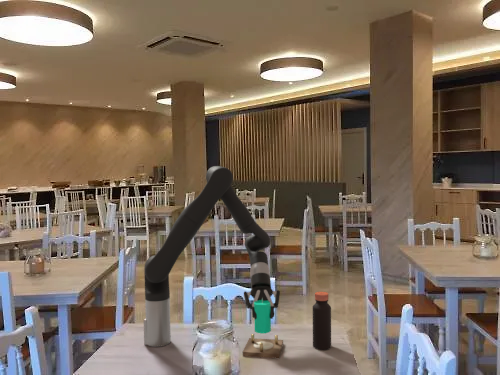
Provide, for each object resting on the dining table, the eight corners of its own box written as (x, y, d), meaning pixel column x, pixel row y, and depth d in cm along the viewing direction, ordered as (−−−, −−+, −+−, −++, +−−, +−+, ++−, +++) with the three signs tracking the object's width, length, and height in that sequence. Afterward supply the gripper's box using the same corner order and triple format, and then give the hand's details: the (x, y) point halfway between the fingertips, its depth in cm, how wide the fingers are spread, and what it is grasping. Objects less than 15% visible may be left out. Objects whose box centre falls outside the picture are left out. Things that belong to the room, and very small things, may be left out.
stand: (242, 356, 159) (242, 351, 159) (249, 342, 172) (249, 337, 172) (279, 358, 157) (279, 353, 157) (283, 343, 170) (283, 339, 170)
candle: (269, 334, 161) (268, 300, 160) (253, 333, 162) (252, 300, 161) (272, 328, 167) (271, 296, 166) (256, 327, 168) (255, 295, 167)
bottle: (335, 347, 166) (334, 293, 165) (322, 352, 162) (322, 297, 161) (321, 341, 171) (321, 289, 171) (308, 346, 167) (308, 293, 166)
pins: (247, 351, 160) (247, 342, 160) (251, 341, 168) (251, 333, 168) (275, 352, 158) (275, 344, 158) (278, 343, 167) (278, 335, 167)
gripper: (241, 272, 170) (244, 314, 159) (279, 271, 171) (284, 312, 160) (241, 282, 176) (243, 323, 165) (278, 281, 177) (282, 322, 165)
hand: (263, 317), depth 162 cm, fingers closed on candle, 5 cm apart
